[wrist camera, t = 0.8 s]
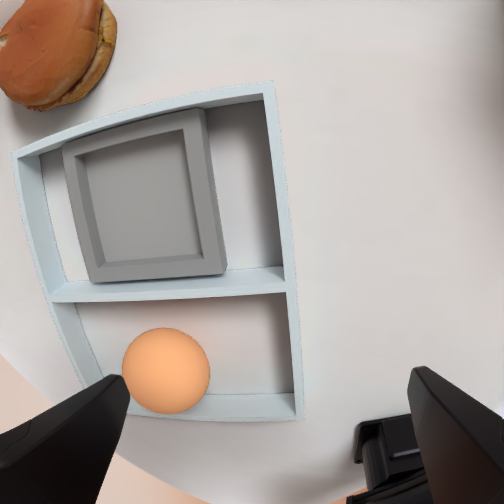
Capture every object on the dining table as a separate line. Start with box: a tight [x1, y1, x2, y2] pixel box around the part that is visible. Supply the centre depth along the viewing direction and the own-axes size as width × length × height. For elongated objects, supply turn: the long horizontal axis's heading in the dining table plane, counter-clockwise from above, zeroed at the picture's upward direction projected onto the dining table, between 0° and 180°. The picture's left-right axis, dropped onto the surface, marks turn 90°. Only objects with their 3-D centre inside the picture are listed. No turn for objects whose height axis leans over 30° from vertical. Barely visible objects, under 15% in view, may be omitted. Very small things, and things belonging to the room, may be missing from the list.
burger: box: [0, 0, 117, 112], centre depth 14 cm, size 10×9×5 cm
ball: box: [122, 328, 210, 414], centre depth 20 cm, size 6×6×6 cm
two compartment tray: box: [11, 80, 305, 422], centre depth 20 cm, size 22×18×2 cm
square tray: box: [61, 108, 227, 283], centre depth 19 cm, size 10×10×2 cm
